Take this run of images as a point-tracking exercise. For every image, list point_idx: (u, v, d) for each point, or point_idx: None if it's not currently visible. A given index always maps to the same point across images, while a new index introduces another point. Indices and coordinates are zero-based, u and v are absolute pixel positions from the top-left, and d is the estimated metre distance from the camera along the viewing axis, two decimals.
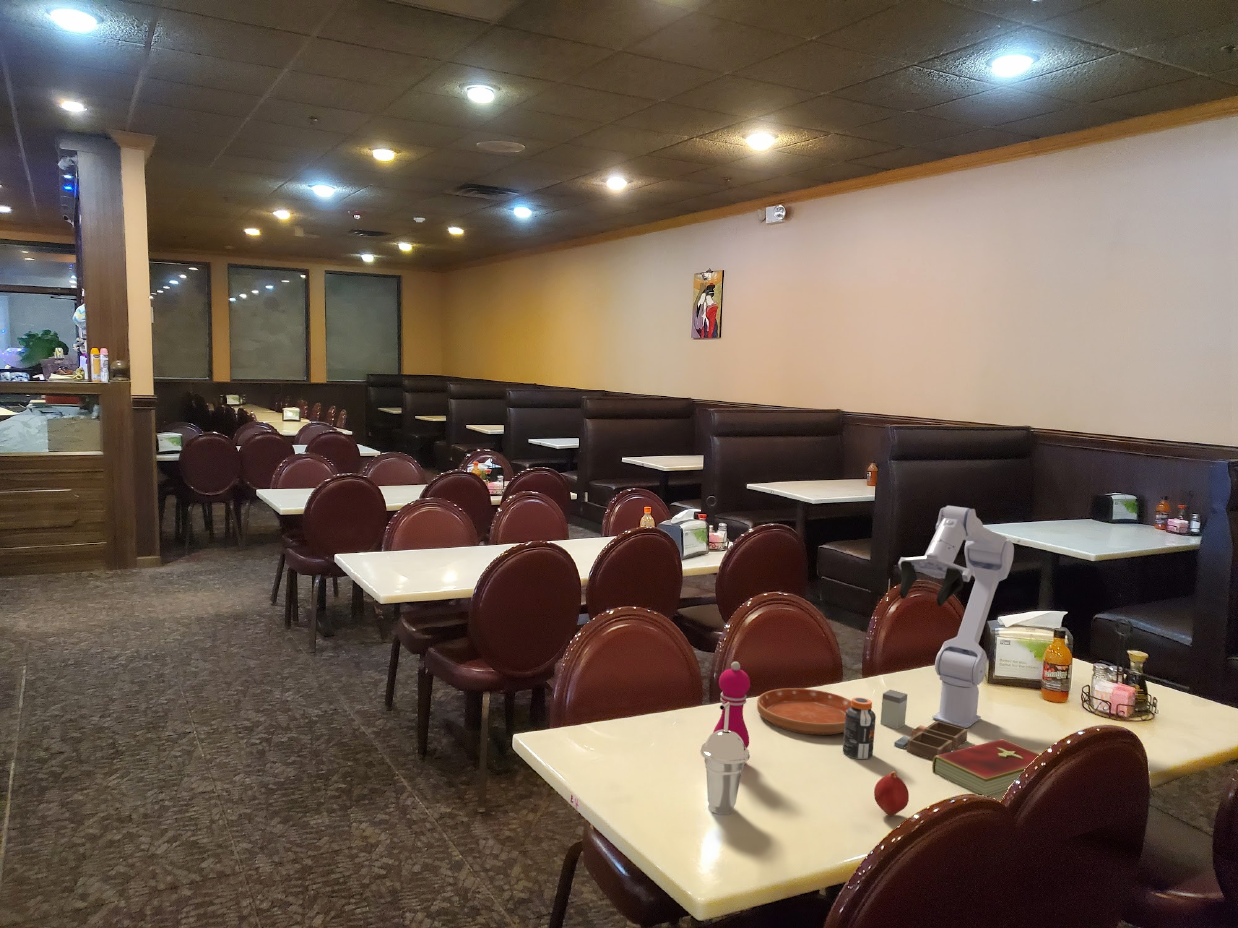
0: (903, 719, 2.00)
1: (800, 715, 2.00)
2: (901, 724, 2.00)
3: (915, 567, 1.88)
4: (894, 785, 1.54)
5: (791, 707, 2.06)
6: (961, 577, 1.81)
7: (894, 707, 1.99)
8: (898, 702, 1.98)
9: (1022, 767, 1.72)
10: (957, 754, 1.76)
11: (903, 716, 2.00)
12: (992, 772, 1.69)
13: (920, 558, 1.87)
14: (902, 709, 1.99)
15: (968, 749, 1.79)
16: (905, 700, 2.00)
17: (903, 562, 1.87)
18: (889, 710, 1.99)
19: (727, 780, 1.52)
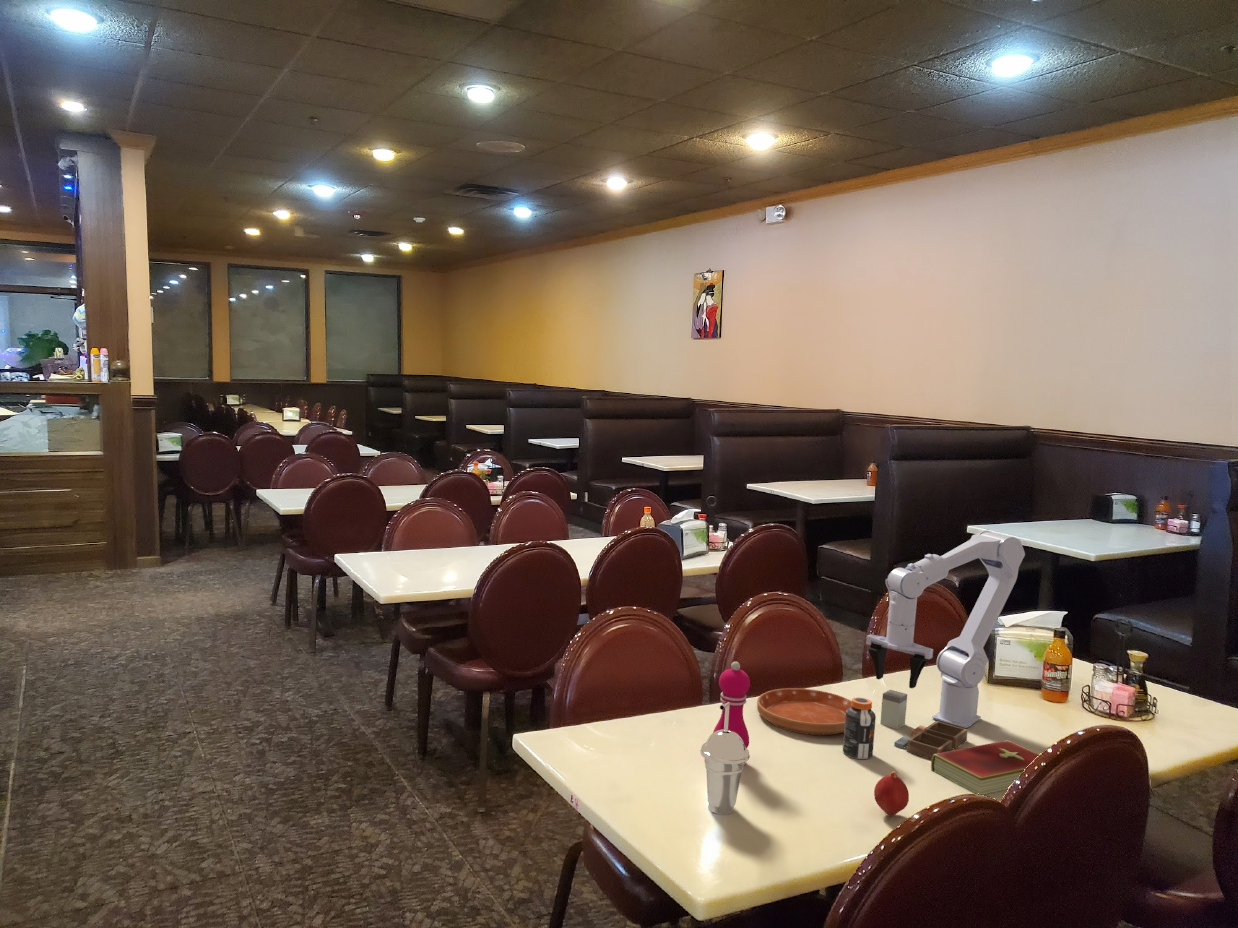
0: (903, 719, 2.00)
1: (800, 715, 2.00)
2: (901, 724, 2.00)
3: (882, 645, 2.01)
4: (894, 785, 1.54)
5: (791, 707, 2.06)
6: (924, 659, 1.95)
7: (894, 707, 1.99)
8: (898, 702, 1.98)
9: (1021, 768, 1.71)
10: (957, 754, 1.77)
11: (903, 716, 2.00)
12: (988, 772, 1.69)
13: (883, 643, 1.99)
14: (902, 709, 1.99)
15: (970, 749, 1.79)
16: (905, 700, 2.00)
17: (870, 650, 2.01)
18: (889, 710, 1.99)
19: (727, 780, 1.52)
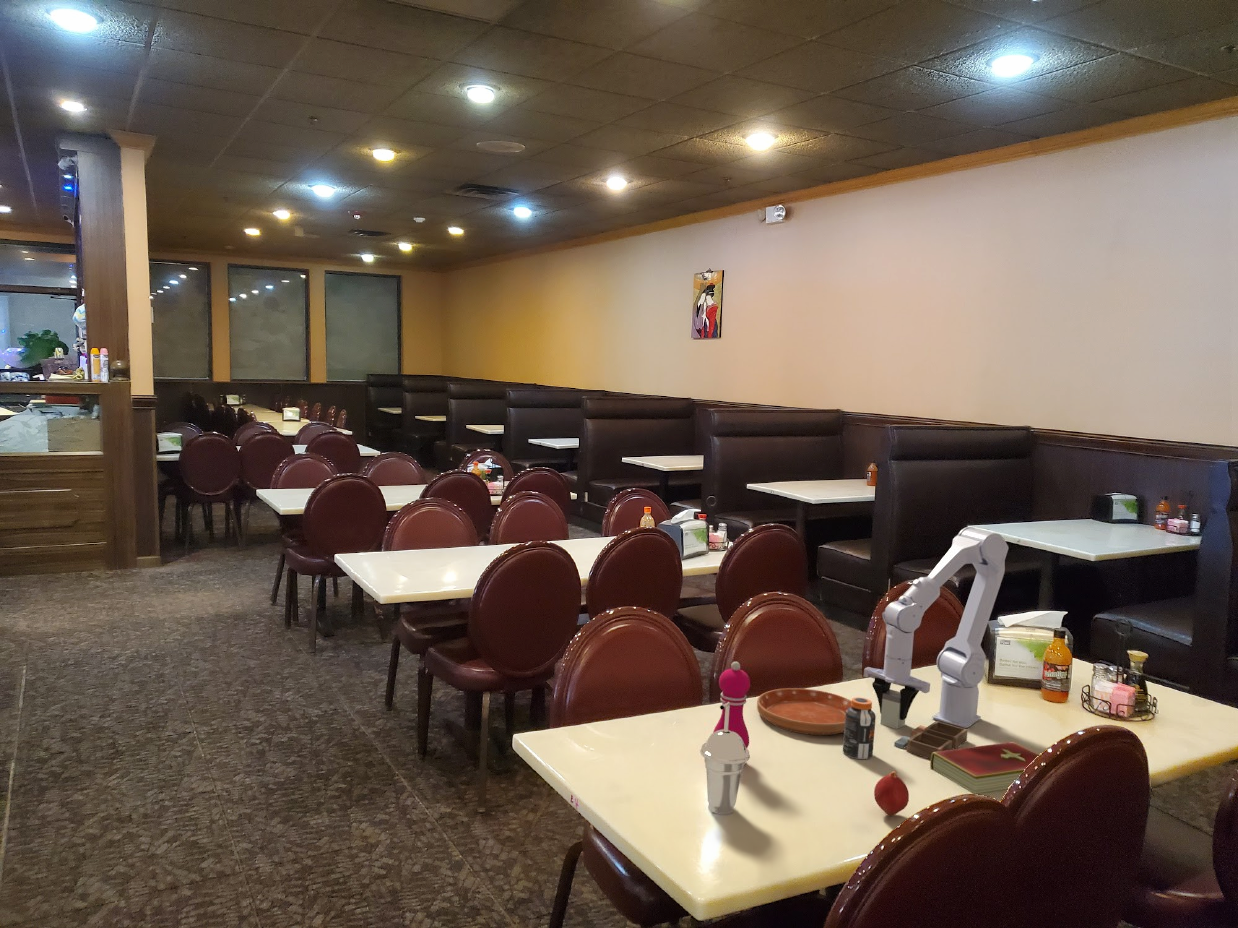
0: None
1: (800, 715, 2.00)
2: (901, 724, 2.00)
3: (879, 678, 2.02)
4: (894, 785, 1.54)
5: (791, 707, 2.06)
6: (915, 691, 1.97)
7: (894, 707, 1.99)
8: (898, 702, 1.98)
9: (1020, 769, 1.71)
10: (956, 753, 1.77)
11: None
12: (985, 771, 1.69)
13: (881, 677, 2.00)
14: None
15: (971, 749, 1.80)
16: None
17: (874, 685, 2.01)
18: (889, 710, 1.99)
19: (727, 780, 1.52)
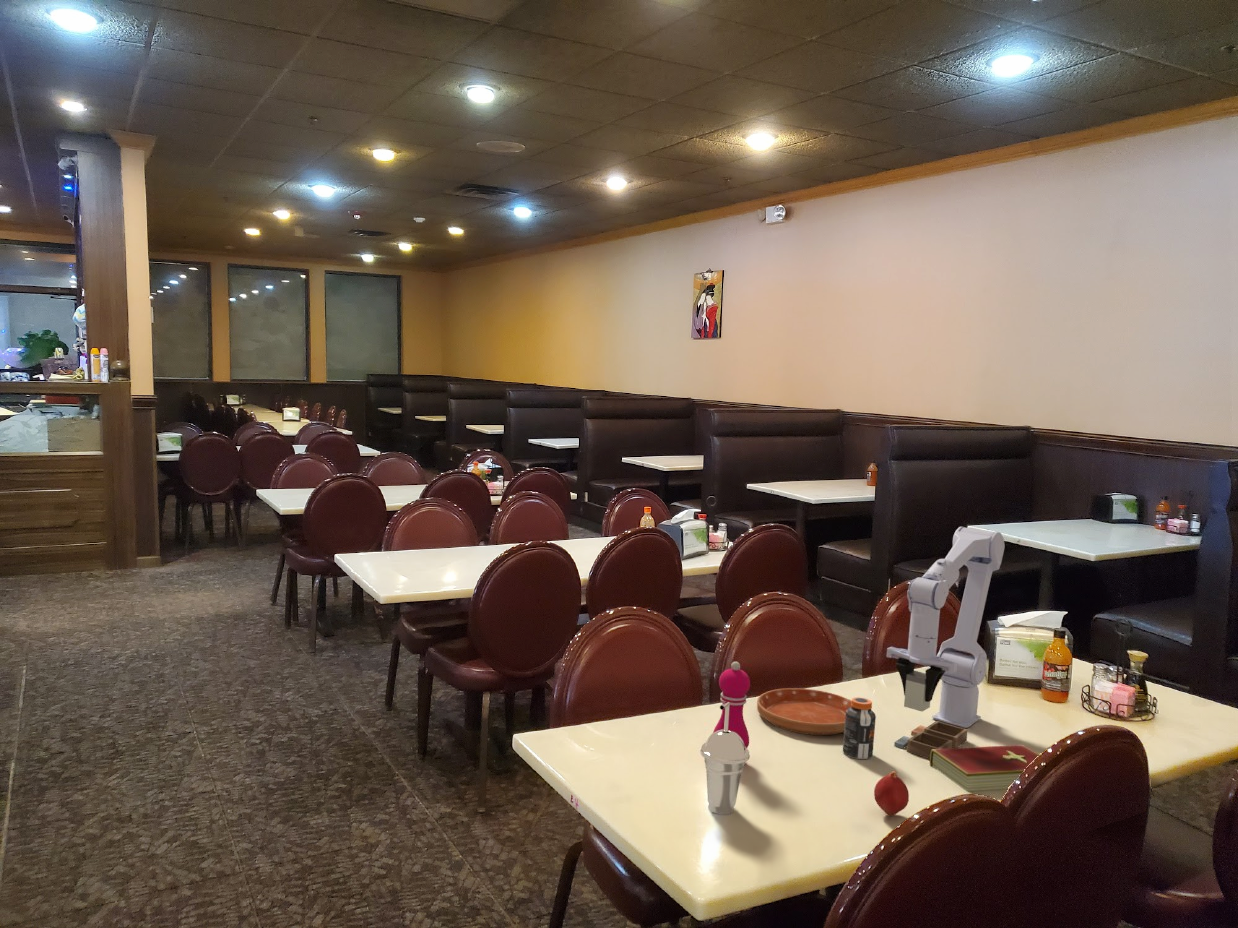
0: None
1: (800, 715, 2.00)
2: (926, 707, 1.90)
3: (903, 658, 1.92)
4: (894, 785, 1.54)
5: (791, 707, 2.06)
6: (941, 671, 1.87)
7: (918, 688, 1.89)
8: (923, 683, 1.88)
9: (1018, 770, 1.71)
10: (957, 751, 1.78)
11: None
12: (979, 769, 1.70)
13: (905, 657, 1.90)
14: None
15: (974, 748, 1.80)
16: None
17: (898, 665, 1.91)
18: (913, 692, 1.89)
19: (727, 780, 1.52)
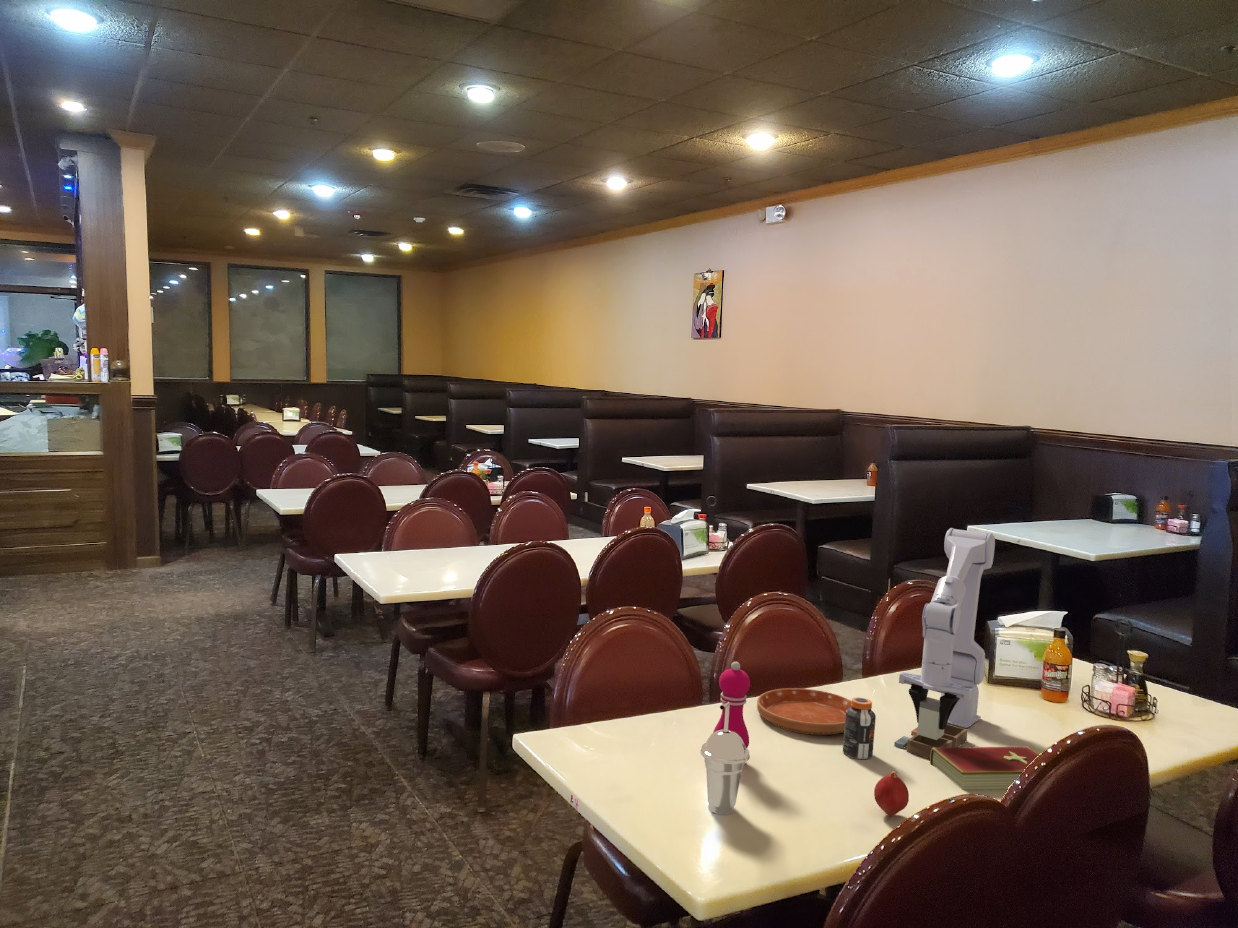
0: None
1: (800, 715, 2.00)
2: (940, 734, 1.84)
3: (916, 684, 1.87)
4: (894, 785, 1.54)
5: (791, 707, 2.06)
6: (956, 698, 1.82)
7: (932, 716, 1.83)
8: (937, 711, 1.82)
9: (1016, 770, 1.70)
10: (957, 750, 1.78)
11: None
12: (976, 769, 1.70)
13: (918, 683, 1.85)
14: None
15: (976, 748, 1.80)
16: None
17: (911, 692, 1.85)
18: (927, 719, 1.84)
19: (727, 780, 1.52)
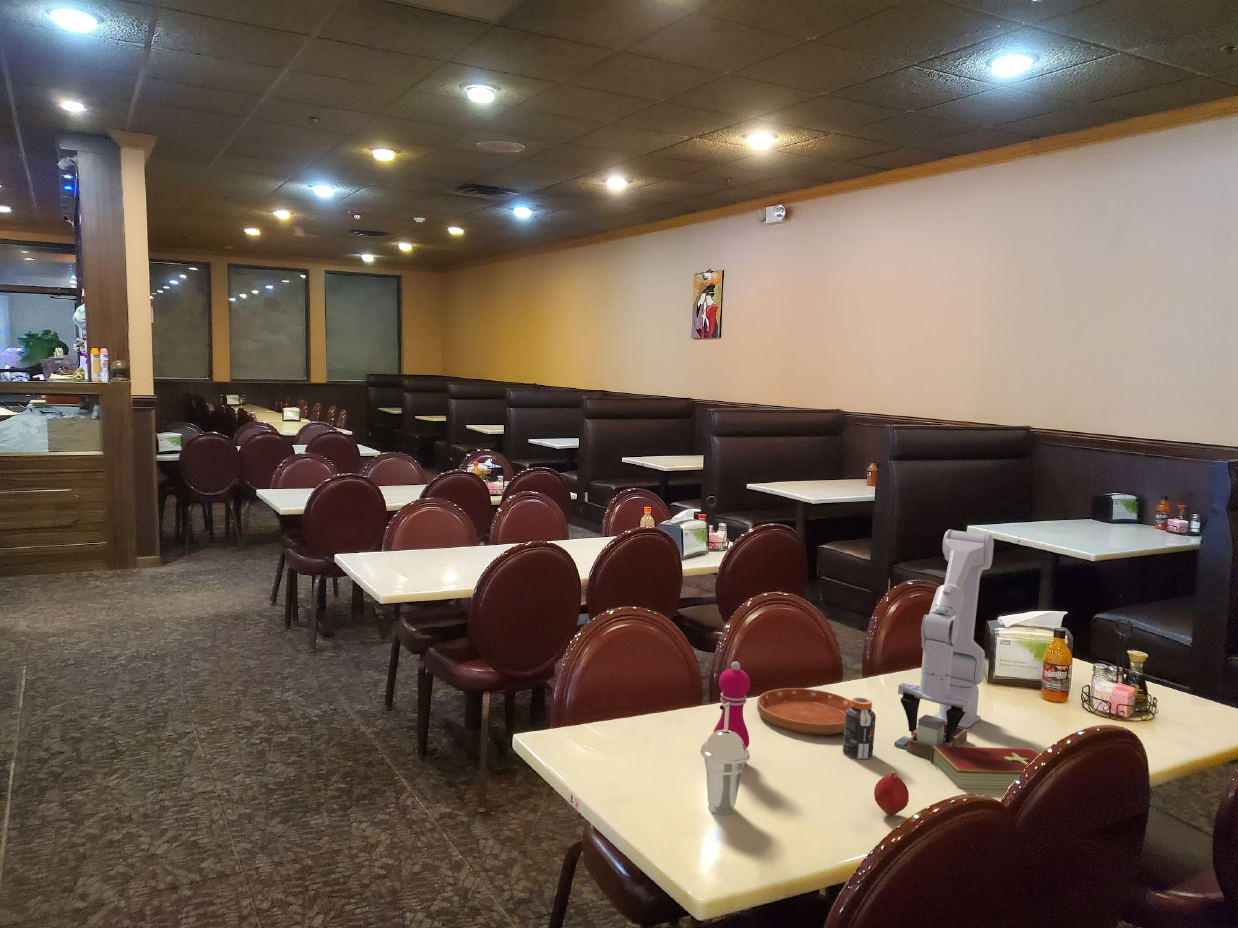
0: None
1: (800, 715, 2.00)
2: None
3: (915, 695, 1.87)
4: (894, 785, 1.54)
5: (791, 707, 2.06)
6: (962, 711, 1.81)
7: (931, 734, 1.84)
8: (935, 729, 1.83)
9: (1015, 771, 1.70)
10: (958, 749, 1.79)
11: (940, 743, 1.85)
12: (973, 767, 1.70)
13: (917, 694, 1.85)
14: (939, 736, 1.84)
15: (978, 748, 1.80)
16: (943, 726, 1.85)
17: (902, 701, 1.87)
18: (925, 737, 1.84)
19: (727, 780, 1.52)
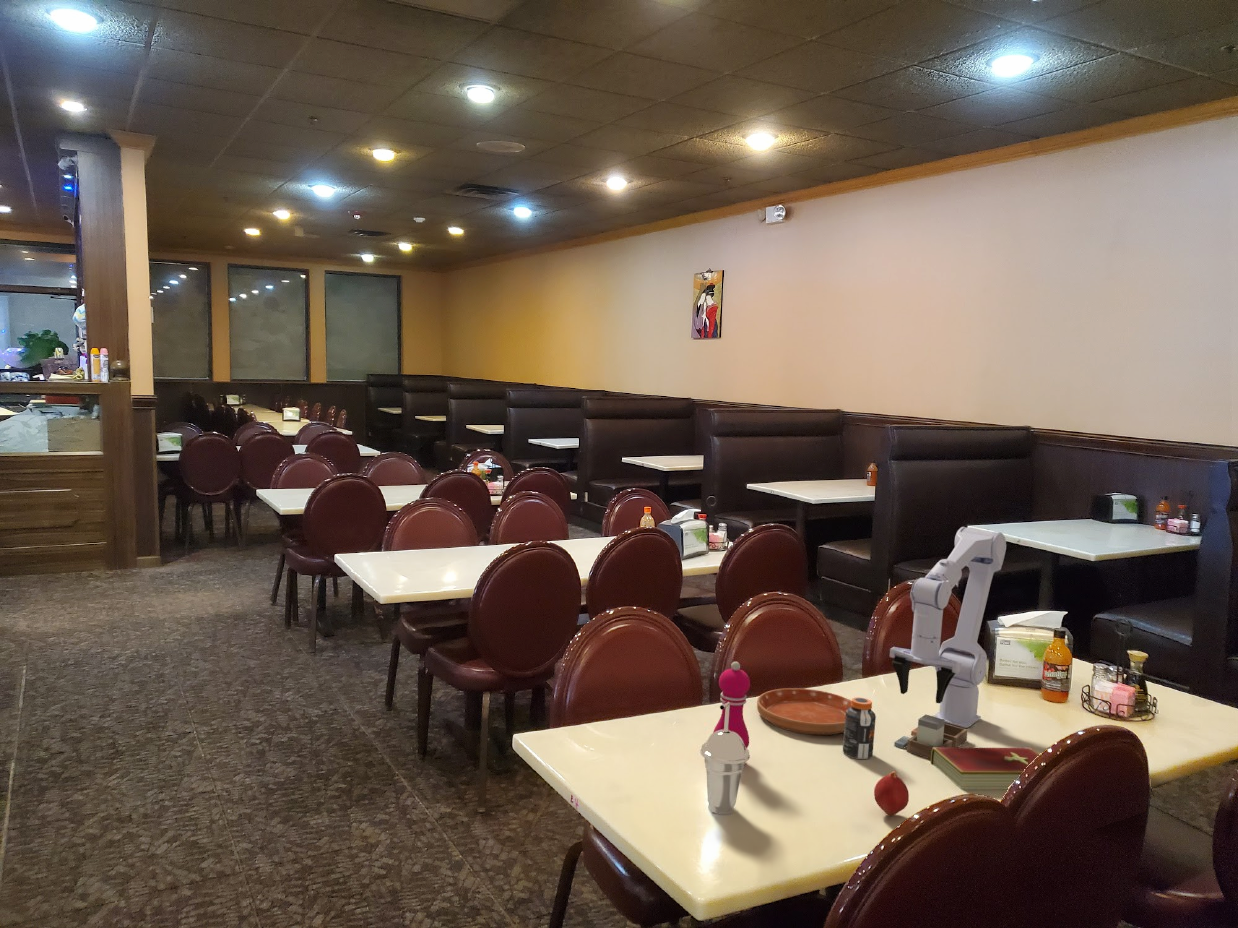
0: (940, 746, 1.85)
1: (800, 715, 2.00)
2: None
3: (906, 658, 1.93)
4: (894, 785, 1.54)
5: (791, 707, 2.06)
6: (952, 673, 1.87)
7: (931, 734, 1.84)
8: (935, 729, 1.83)
9: (1016, 771, 1.70)
10: (958, 750, 1.78)
11: (940, 743, 1.85)
12: (976, 768, 1.70)
13: (908, 657, 1.91)
14: (939, 736, 1.84)
15: (977, 749, 1.80)
16: (943, 726, 1.85)
17: (894, 664, 1.93)
18: (925, 737, 1.84)
19: (727, 780, 1.52)
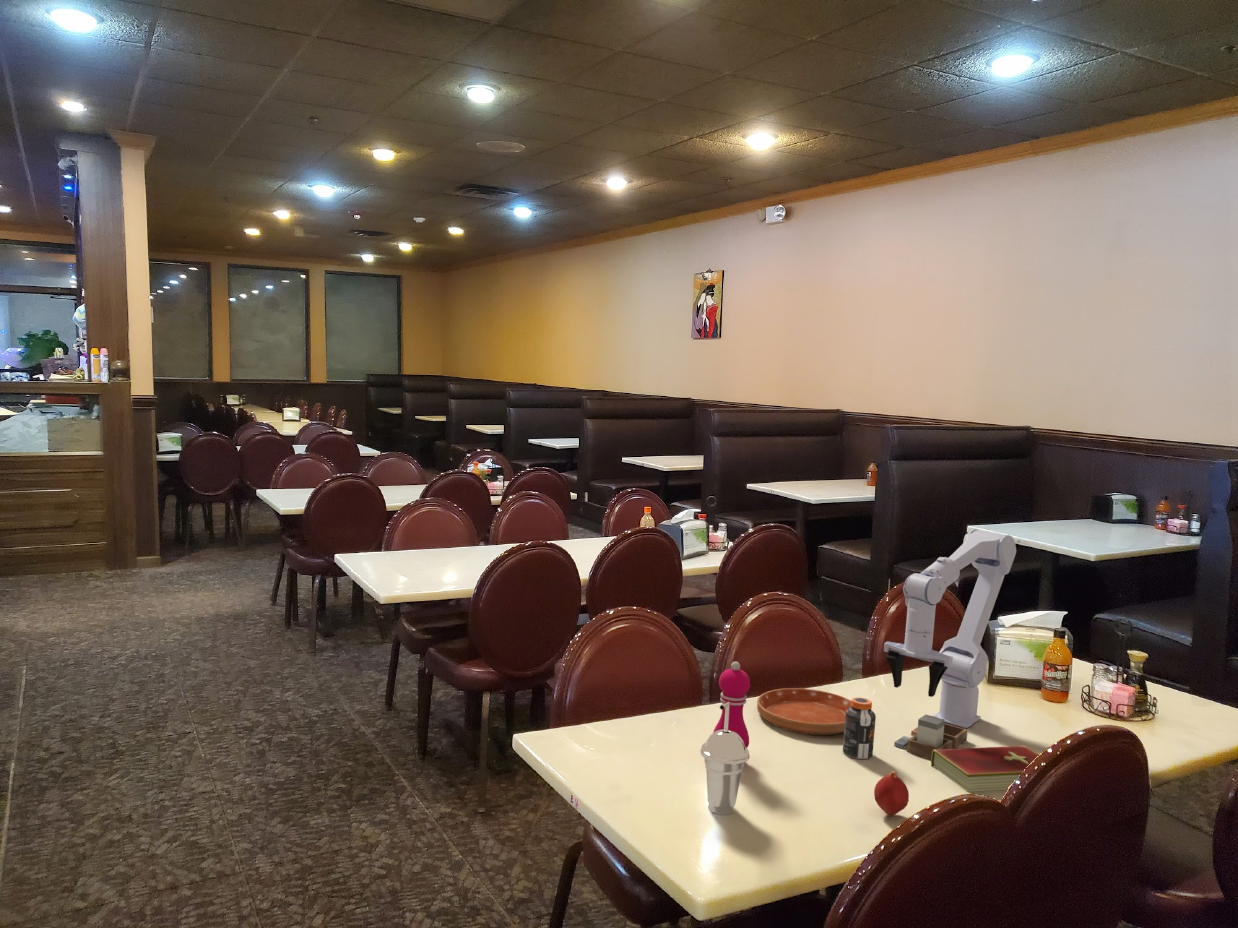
0: (940, 746, 1.85)
1: (800, 715, 2.00)
2: None
3: (900, 652, 1.97)
4: (894, 785, 1.54)
5: (791, 707, 2.06)
6: (944, 666, 1.90)
7: (931, 734, 1.84)
8: (935, 729, 1.83)
9: (1019, 771, 1.70)
10: (958, 752, 1.78)
11: (940, 743, 1.85)
12: (980, 770, 1.69)
13: (902, 651, 1.95)
14: (939, 736, 1.84)
15: (975, 749, 1.80)
16: (943, 726, 1.85)
17: (888, 658, 1.96)
18: (925, 737, 1.84)
19: (727, 780, 1.52)
